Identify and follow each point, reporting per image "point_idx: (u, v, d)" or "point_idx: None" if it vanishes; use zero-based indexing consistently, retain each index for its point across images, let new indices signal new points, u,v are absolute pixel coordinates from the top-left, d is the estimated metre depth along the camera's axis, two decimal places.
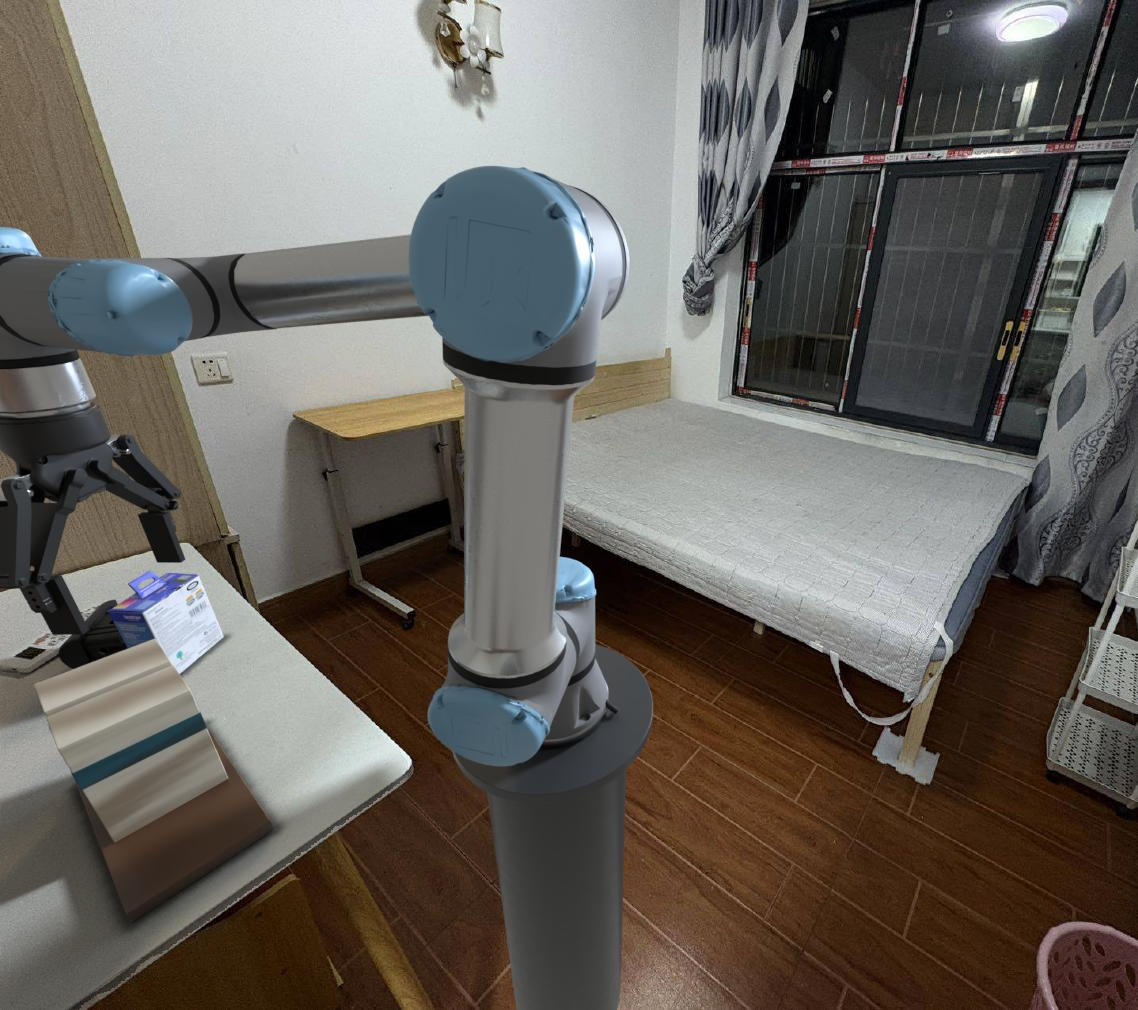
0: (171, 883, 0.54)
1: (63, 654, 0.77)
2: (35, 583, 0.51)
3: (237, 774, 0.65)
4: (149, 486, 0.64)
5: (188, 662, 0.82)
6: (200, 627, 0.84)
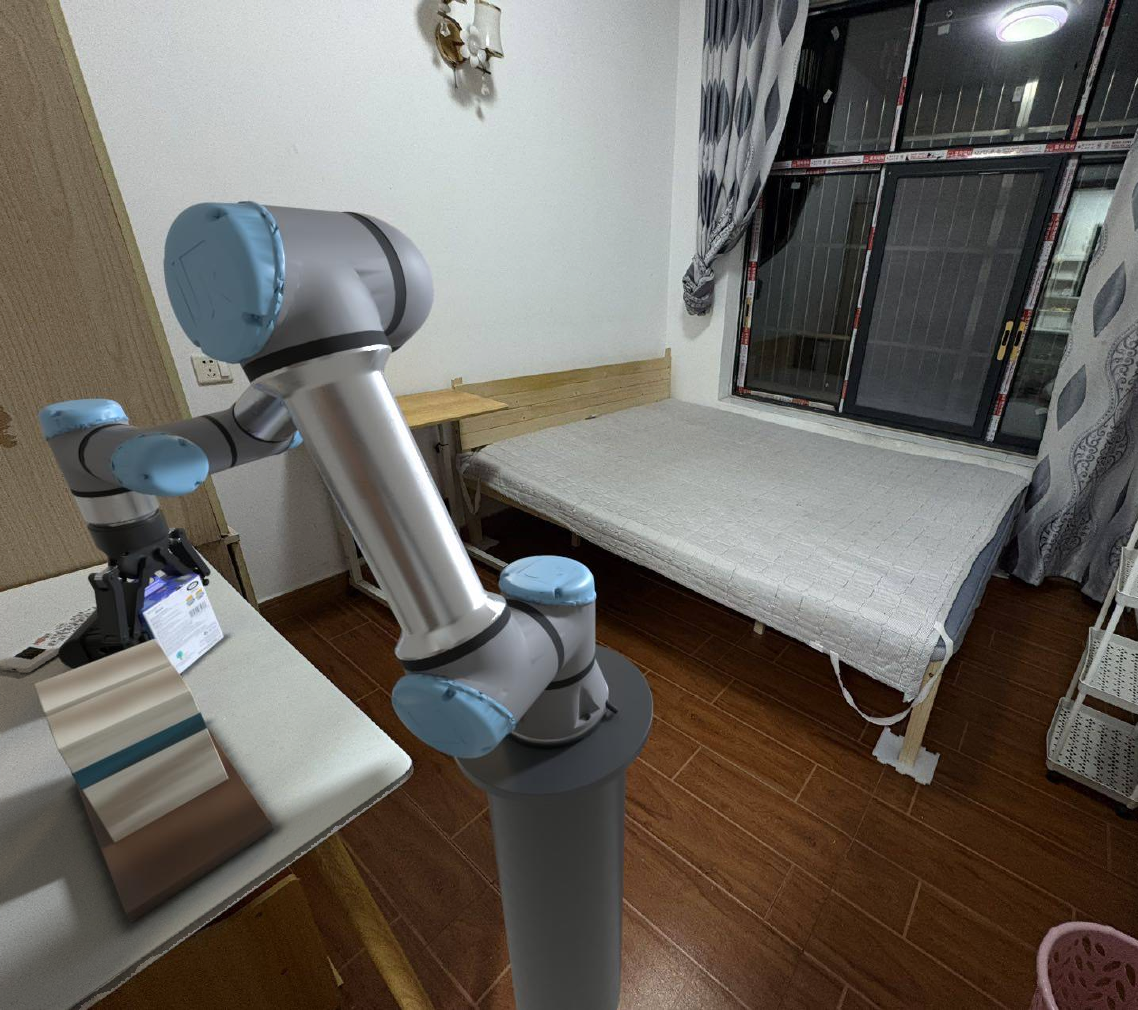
0: (171, 883, 0.54)
1: (63, 654, 0.77)
2: (132, 638, 0.75)
3: (237, 774, 0.65)
4: (188, 566, 0.85)
5: (188, 662, 0.82)
6: (200, 627, 0.84)
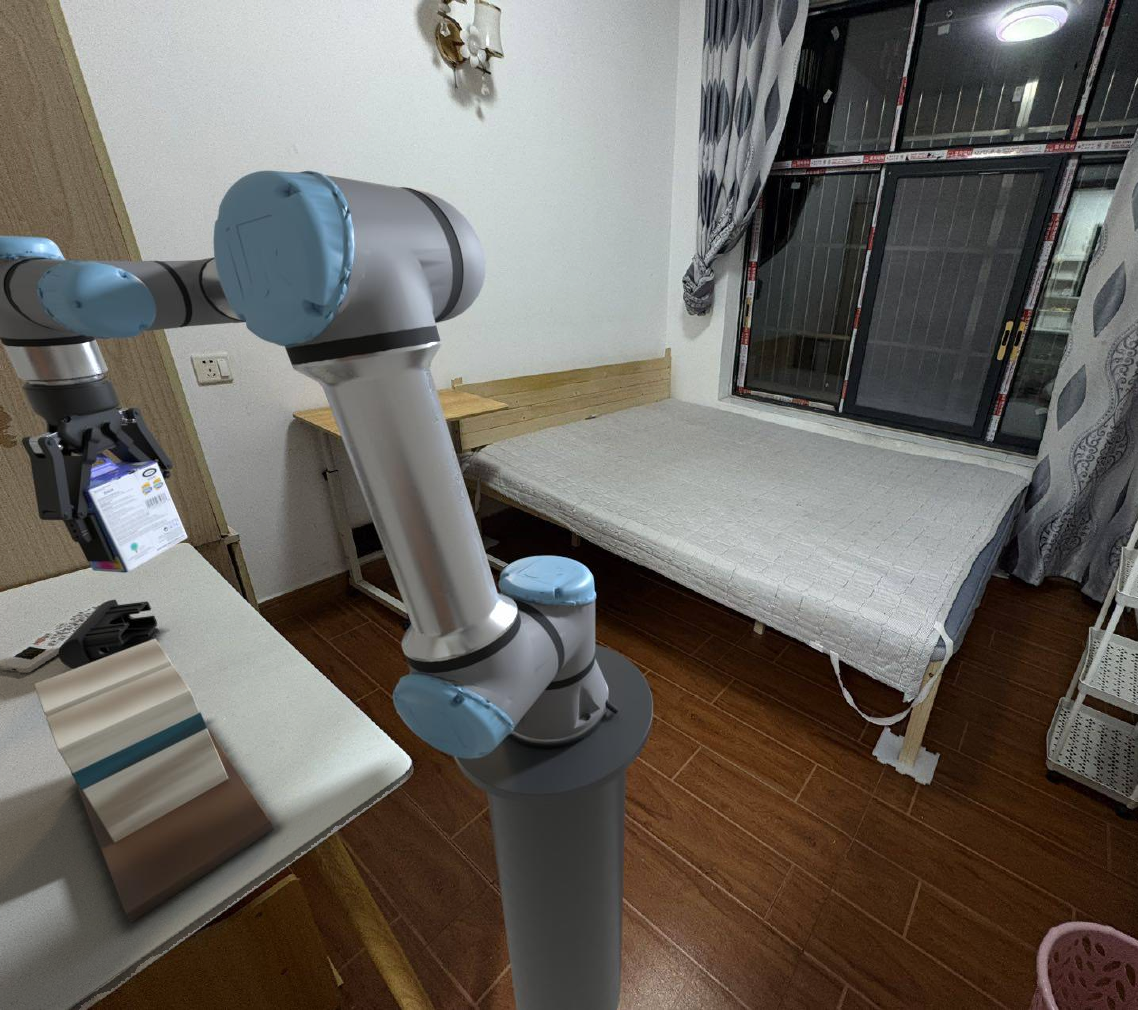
0: (171, 883, 0.54)
1: (63, 654, 0.77)
2: (76, 518, 0.66)
3: (237, 774, 0.65)
4: (147, 456, 0.77)
5: (144, 557, 0.74)
6: (159, 521, 0.76)
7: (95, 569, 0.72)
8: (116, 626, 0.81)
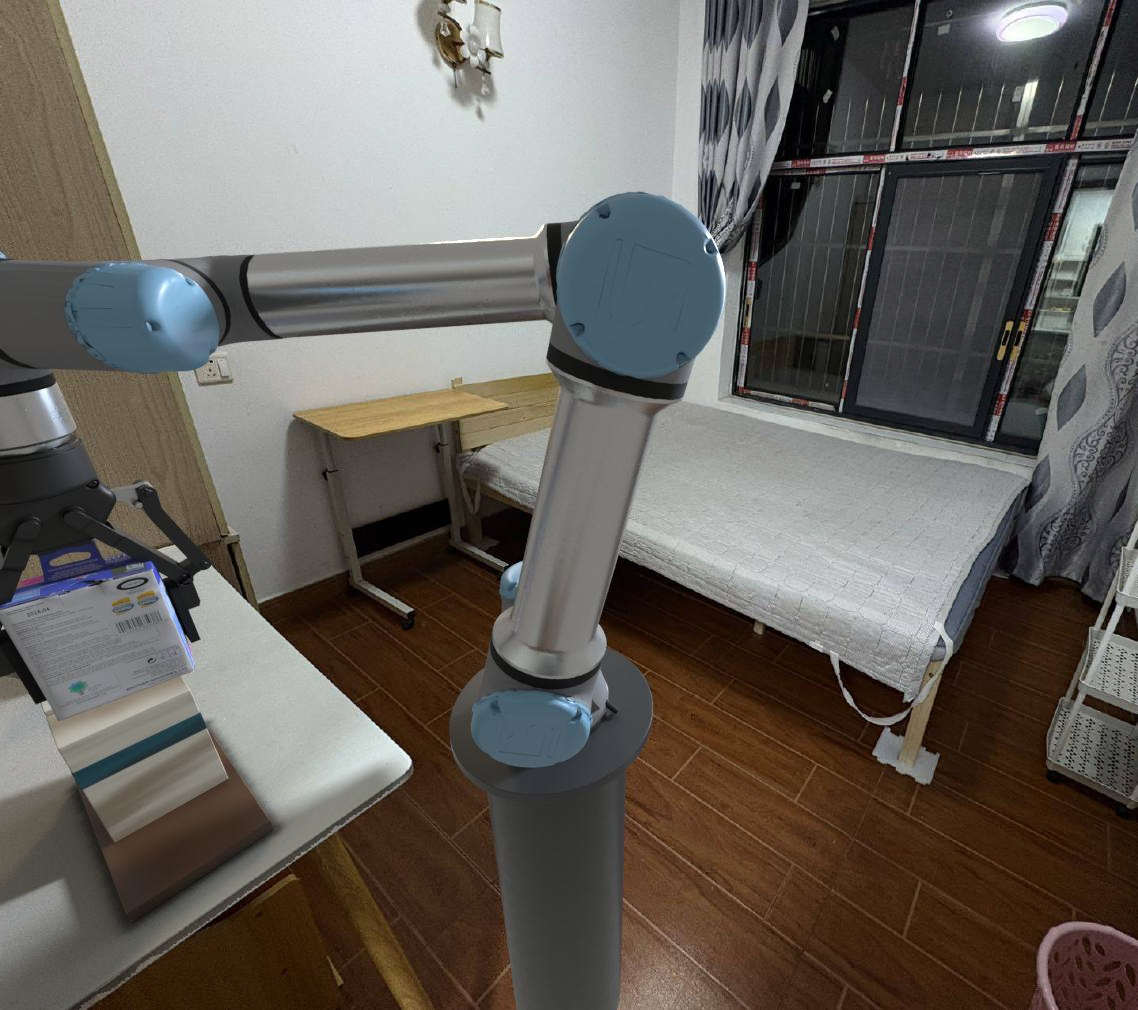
0: (171, 883, 0.54)
1: None
2: None
3: (237, 774, 0.65)
4: None
5: (98, 700, 0.50)
6: (141, 649, 0.51)
7: None
8: None
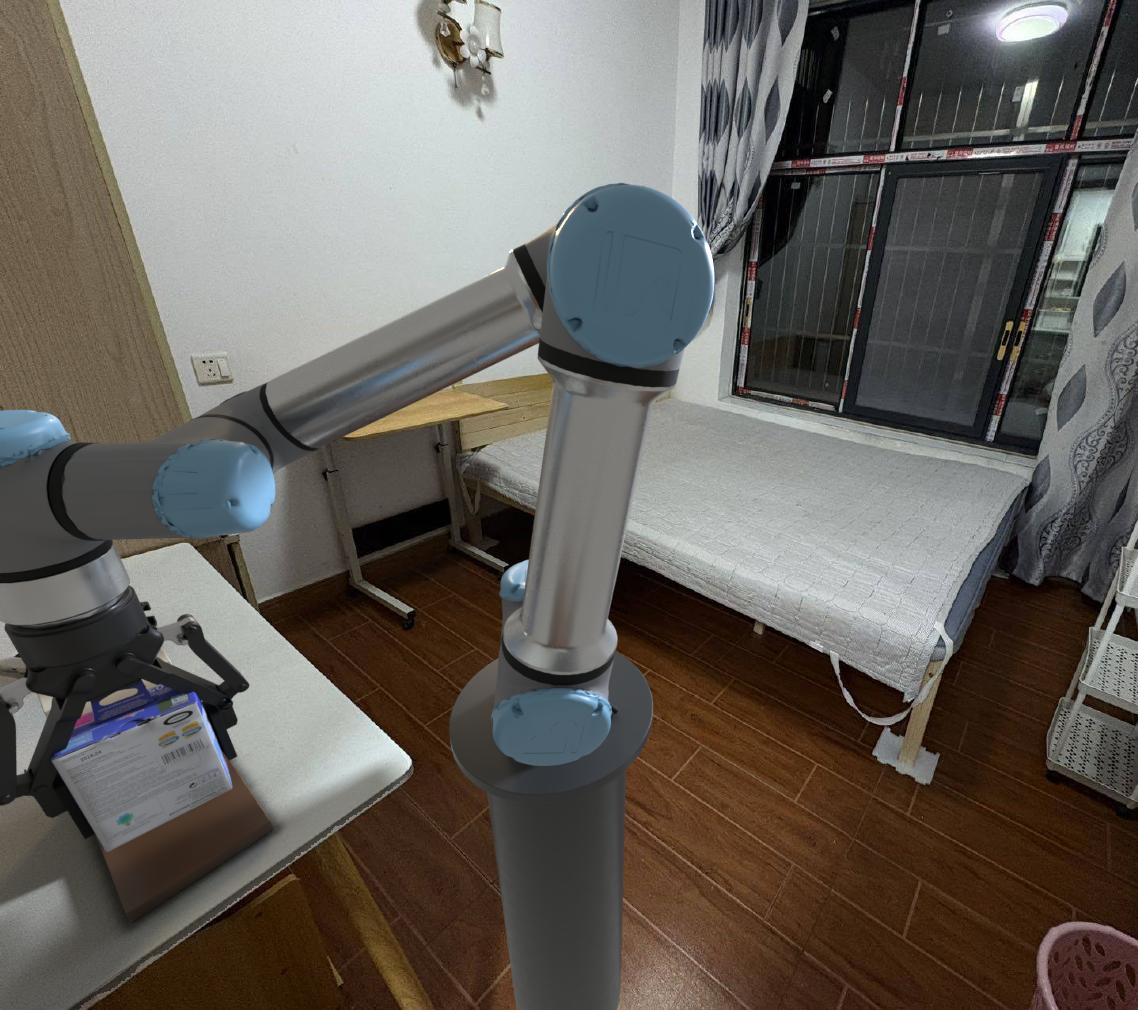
0: (171, 883, 0.54)
1: None
2: None
3: (237, 774, 0.65)
4: None
5: (143, 828, 0.52)
6: (184, 776, 0.53)
7: None
8: None
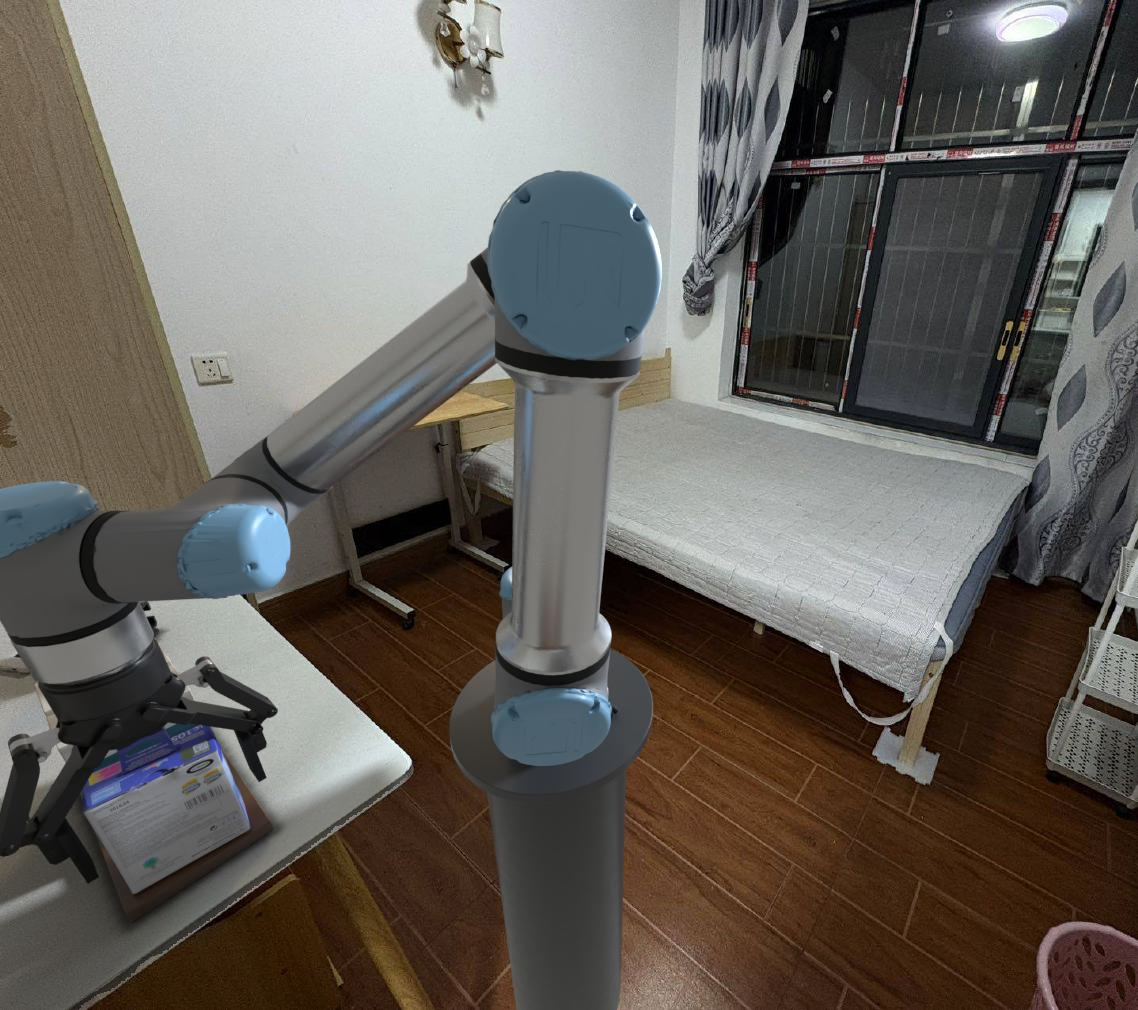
0: (171, 883, 0.54)
1: None
2: None
3: (237, 774, 0.65)
4: None
5: (167, 870, 0.54)
6: (205, 820, 0.56)
7: None
8: None
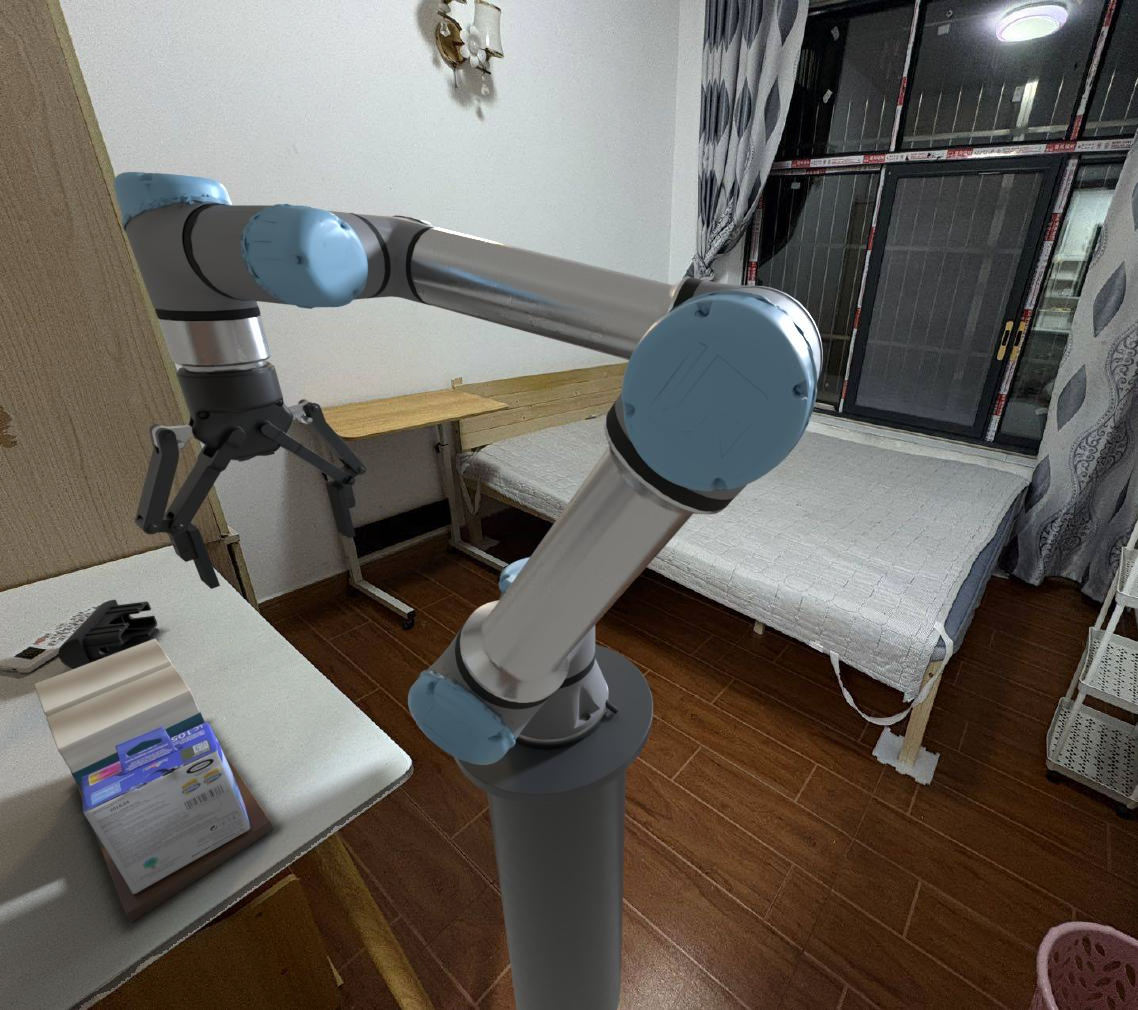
0: (171, 883, 0.54)
1: (63, 654, 0.77)
2: (172, 531, 0.51)
3: (237, 774, 0.65)
4: (338, 457, 0.63)
5: (167, 870, 0.54)
6: (205, 820, 0.56)
7: None
8: (116, 626, 0.81)
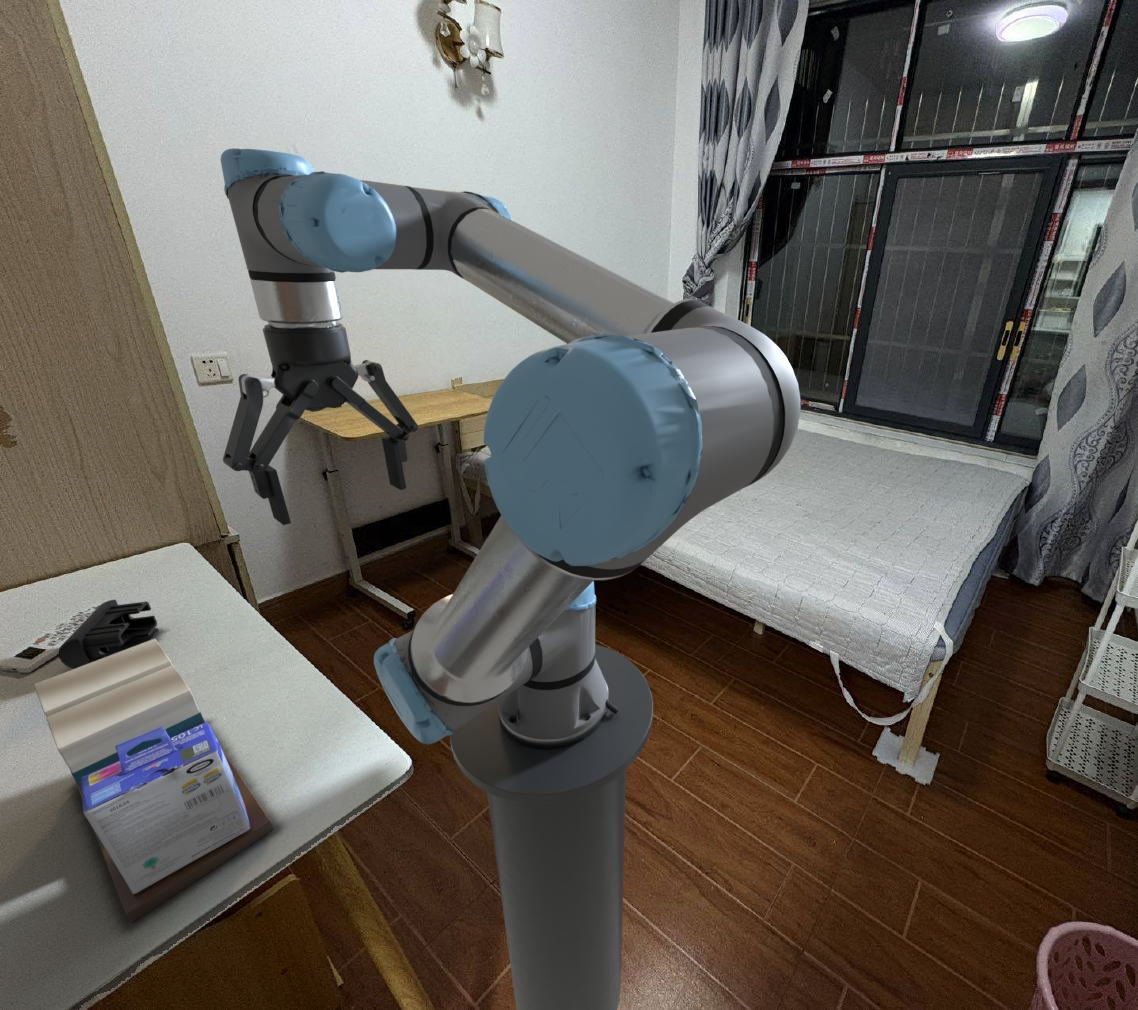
0: (171, 883, 0.54)
1: (63, 654, 0.77)
2: (254, 470, 0.58)
3: (237, 774, 0.65)
4: (394, 414, 0.69)
5: (167, 870, 0.54)
6: (205, 820, 0.56)
7: None
8: (116, 626, 0.81)
